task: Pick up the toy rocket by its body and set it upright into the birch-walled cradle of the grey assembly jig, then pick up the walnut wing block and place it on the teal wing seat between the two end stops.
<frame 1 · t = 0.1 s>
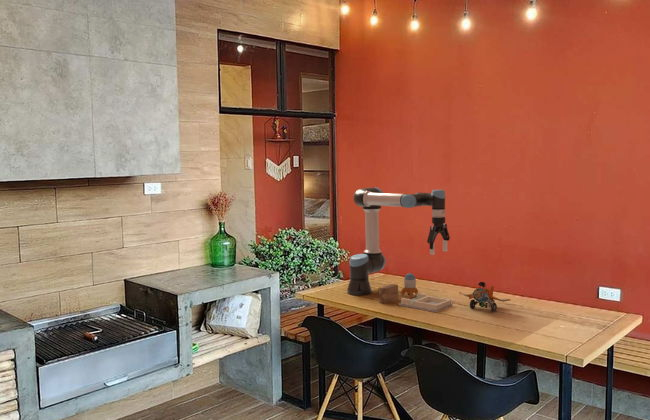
hand: (438, 253, 338), 28 cm above the table, fingers open, 13 cm apart
toy rocket: (410, 297, 351), on the table
toy airplane: (485, 309, 320), on the table
jig: (425, 305, 330), on the table
wing block: (388, 301, 342), on the table
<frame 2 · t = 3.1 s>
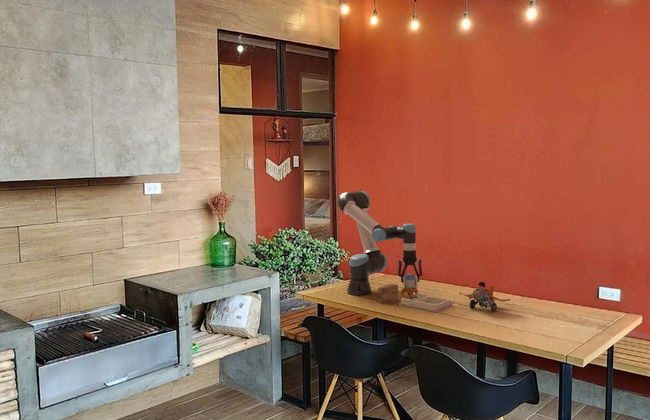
hand: (410, 287, 350), 6 cm above the table, fingers closed on toy rocket, 7 cm apart
toy rocket: (409, 297, 351), on the table, touching gripper
everything else where it was.
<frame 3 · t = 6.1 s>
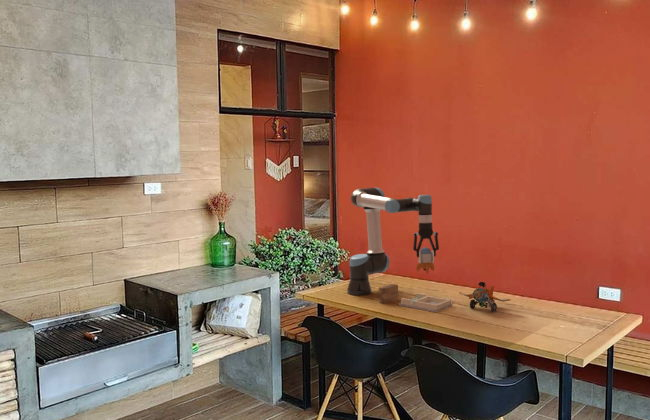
hand: (426, 262, 331), 24 cm above the table, fingers closed on toy rocket, 7 cm apart
toy rocket: (425, 272, 332), point 18 cm above the table, touching gripper
everything else where it was.
when the fingers open (8 cm above the table, at t = 9.3 s): toy rocket drops 1 cm, resting on jig.
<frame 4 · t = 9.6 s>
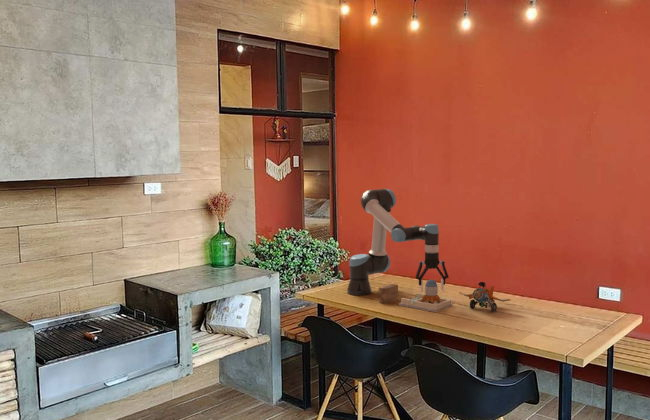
hand: (432, 290, 327), 9 cm above the table, fingers open, 11 cm apart
toy rocket: (431, 305, 327), point 1 cm above the table, touching jig
everything else where it was.
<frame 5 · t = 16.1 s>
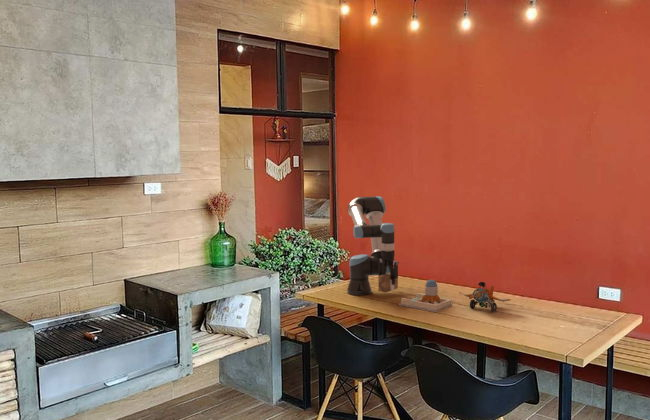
hand: (388, 289, 342), 7 cm above the table, fingers closed on wing block, 5 cm apart
wing block: (388, 289, 342), point 7 cm above the table, touching gripper
everything else where it was.
when the fingers open (3 cm above the table, at t = 20.7 s): wing block drops 1 cm, resting on jig.
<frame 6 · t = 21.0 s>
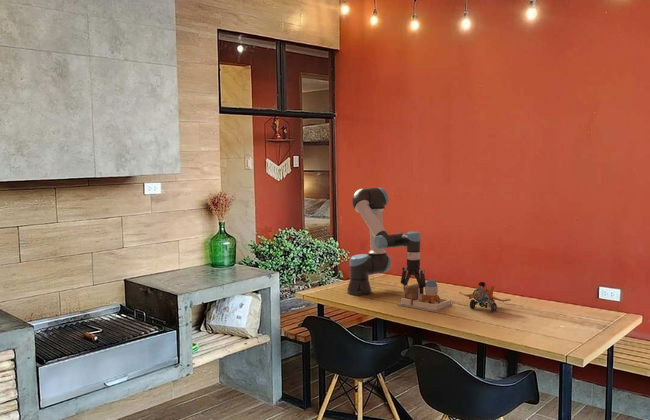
hand: (413, 297, 336), 3 cm above the table, fingers open, 9 cm apart
wing block: (414, 301, 335), point 1 cm above the table, touching jig
everything else where it was.
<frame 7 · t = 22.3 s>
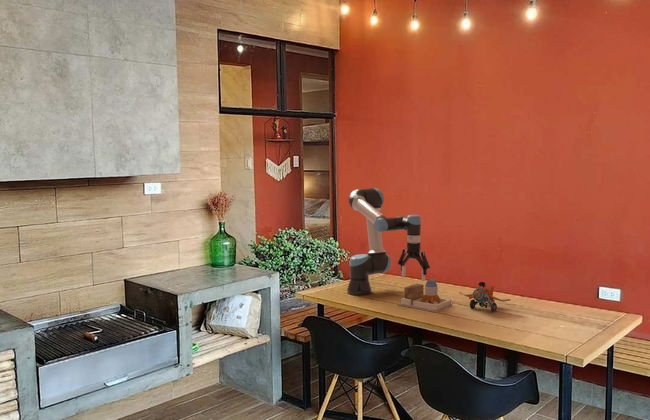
hand: (413, 278, 335), 14 cm above the table, fingers open, 13 cm apart
nothing on the table moved.
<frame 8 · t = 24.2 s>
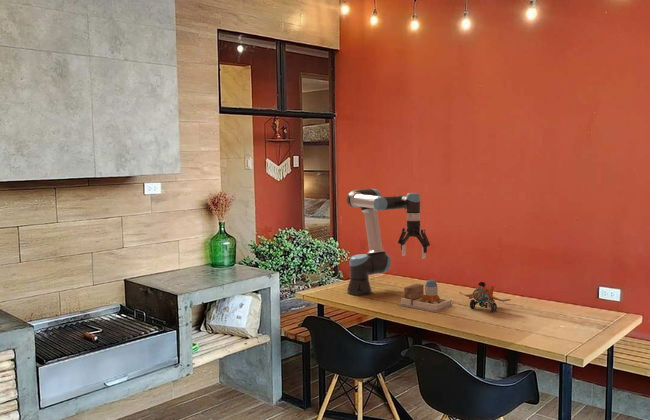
hand: (413, 257, 333), 27 cm above the table, fingers open, 13 cm apart
nothing on the table moved.
at the end: toy rocket inside the target area on the jig (0.7 cm from its centre), point 0.8 cm above the jig's base; toy rocket tilted 0°; wing block 0.0 cm from the target spot on the jig, point 1.1 cm above the jig's base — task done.
